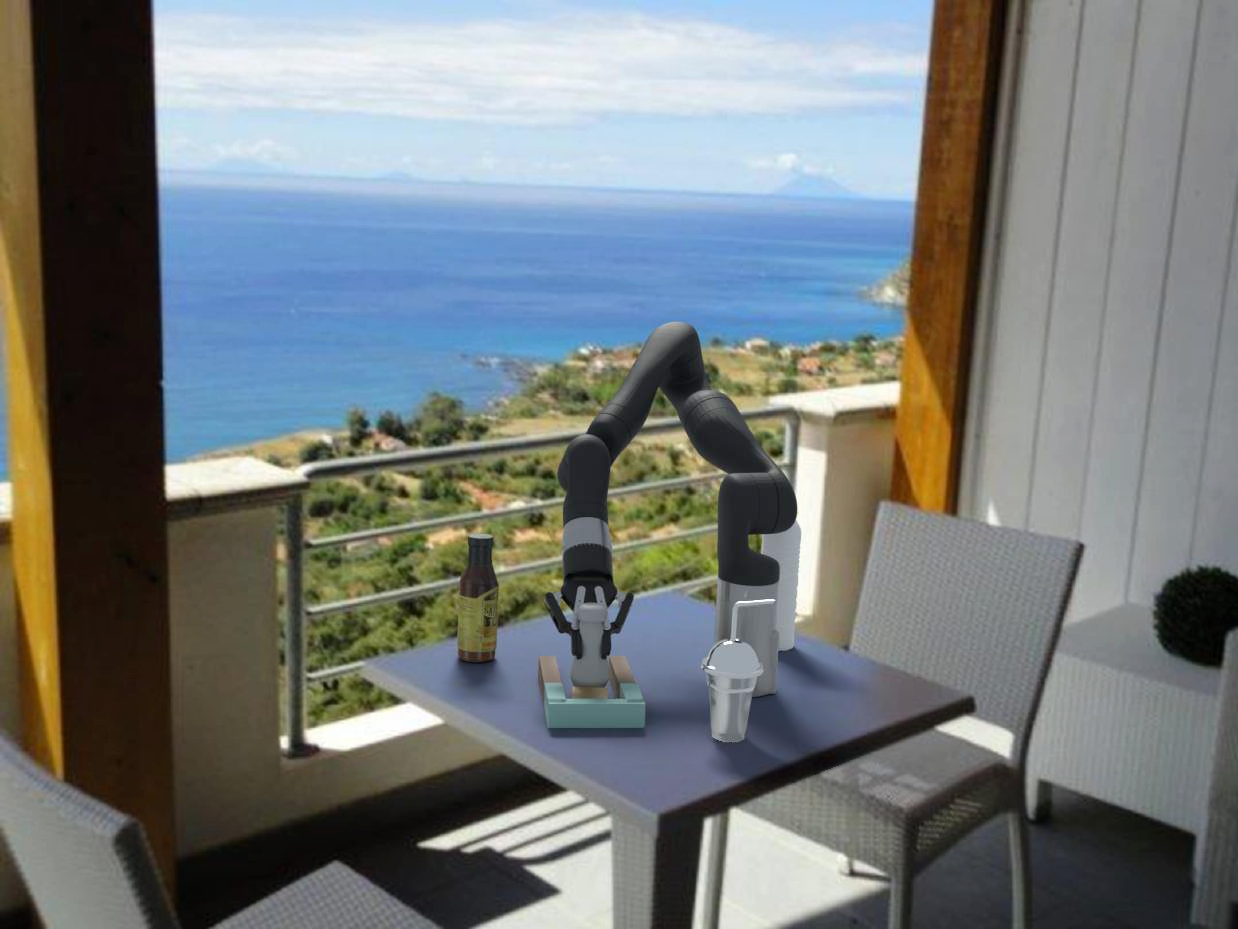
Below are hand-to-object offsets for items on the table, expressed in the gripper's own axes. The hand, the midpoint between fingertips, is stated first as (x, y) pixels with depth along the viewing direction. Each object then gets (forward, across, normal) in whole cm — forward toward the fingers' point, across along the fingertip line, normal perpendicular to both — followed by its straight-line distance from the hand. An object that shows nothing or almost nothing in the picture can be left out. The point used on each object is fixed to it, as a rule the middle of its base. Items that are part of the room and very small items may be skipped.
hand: (591, 656), depth 188 cm
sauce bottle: (-10, +16, -20) cm, 27 cm away
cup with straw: (+14, -18, +4) cm, 23 cm away
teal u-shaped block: (+9, 0, -2) cm, 9 cm away
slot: (+1, 0, -9) cm, 9 cm away
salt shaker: (+3, 0, -6) cm, 6 cm away
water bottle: (-14, -34, -24) cm, 44 cm away
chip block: (+7, 0, -3) cm, 8 cm away
